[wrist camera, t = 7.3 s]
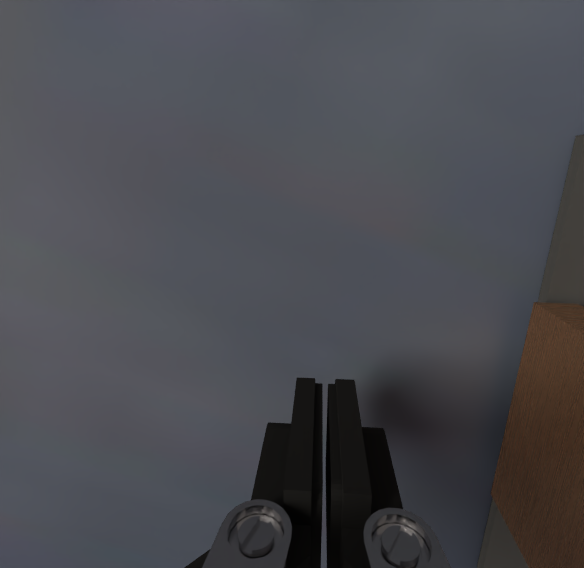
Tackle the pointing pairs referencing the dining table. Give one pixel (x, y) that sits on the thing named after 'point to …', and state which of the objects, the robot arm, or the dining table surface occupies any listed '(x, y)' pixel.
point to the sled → (546, 442)
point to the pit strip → (555, 289)
